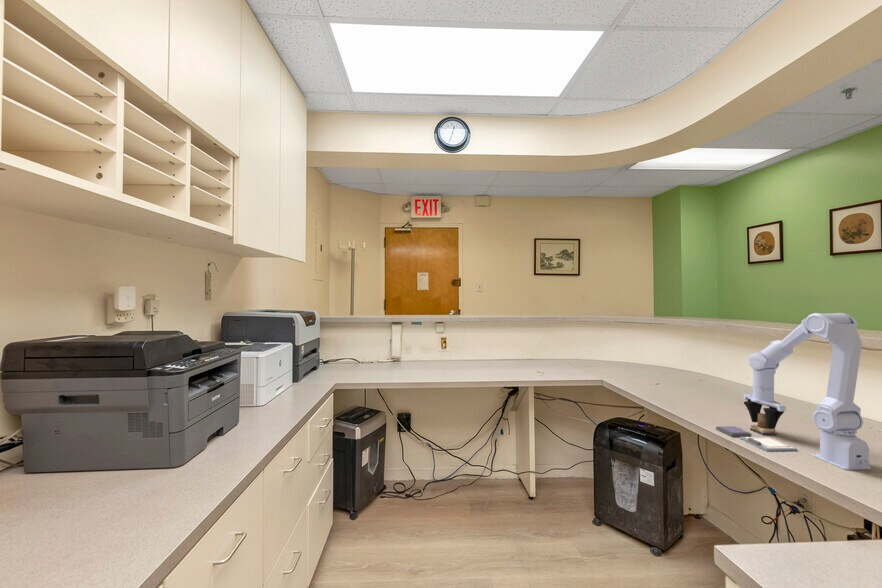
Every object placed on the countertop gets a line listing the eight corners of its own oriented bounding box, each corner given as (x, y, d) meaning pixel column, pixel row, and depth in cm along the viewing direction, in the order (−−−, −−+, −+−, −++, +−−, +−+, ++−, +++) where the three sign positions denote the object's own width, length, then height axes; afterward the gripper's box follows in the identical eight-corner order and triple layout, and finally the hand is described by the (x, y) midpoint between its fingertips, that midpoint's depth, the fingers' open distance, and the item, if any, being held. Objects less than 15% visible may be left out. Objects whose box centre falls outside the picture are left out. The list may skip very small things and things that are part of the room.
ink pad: (751, 436, 127) (751, 433, 127) (731, 436, 127) (731, 433, 127) (734, 429, 134) (734, 425, 134) (716, 429, 134) (716, 426, 134)
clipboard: (797, 450, 116) (797, 446, 116) (766, 451, 116) (766, 446, 116) (768, 438, 126) (768, 434, 126) (739, 438, 126) (739, 434, 126)
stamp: (776, 435, 129) (776, 416, 129) (762, 435, 128) (762, 417, 128) (763, 430, 134) (763, 412, 134) (750, 430, 133) (750, 412, 133)
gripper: (735, 382, 138) (735, 418, 138) (771, 392, 123) (771, 433, 124) (753, 382, 138) (753, 417, 138) (791, 392, 124) (791, 432, 124)
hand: (763, 425), depth 131 cm, fingers open, 6 cm apart
